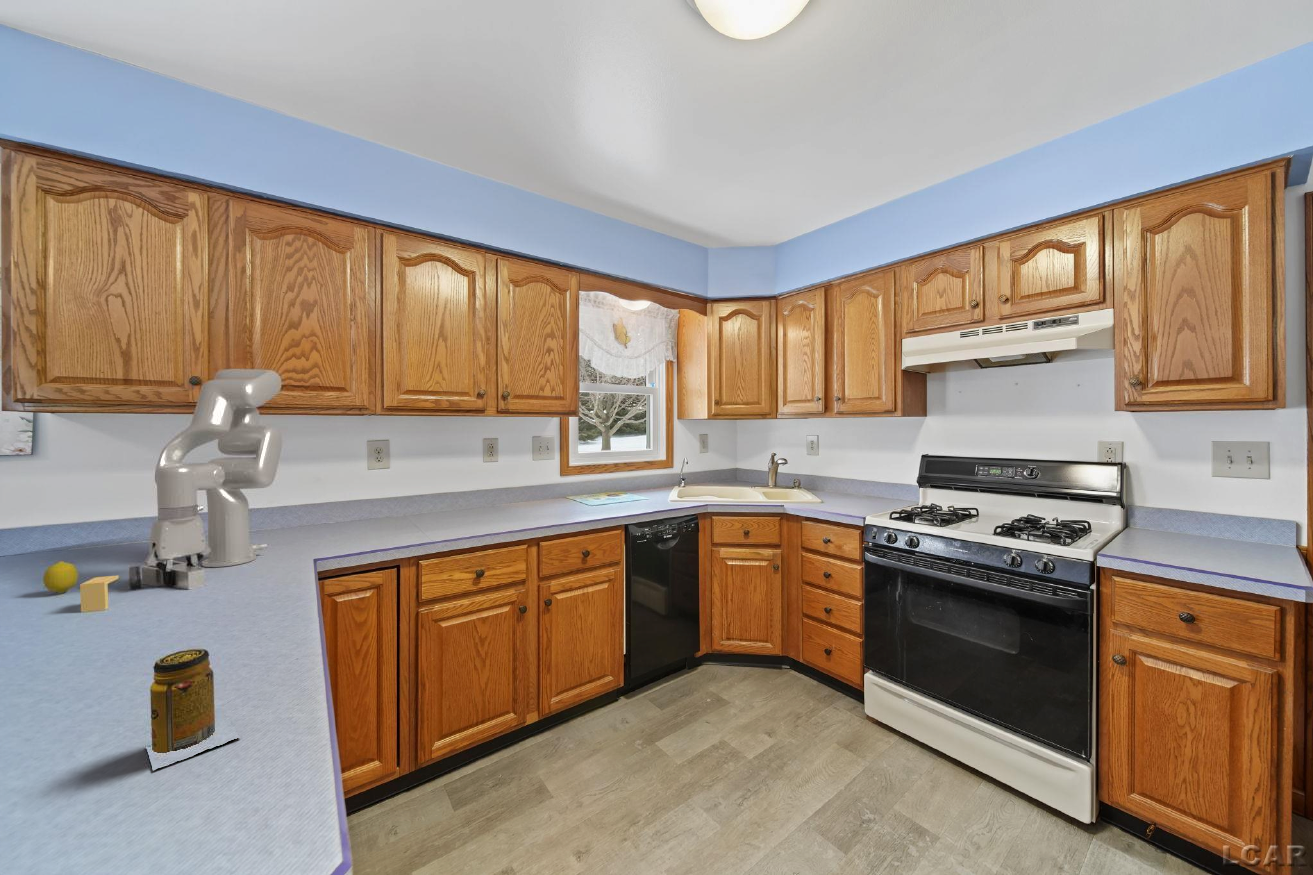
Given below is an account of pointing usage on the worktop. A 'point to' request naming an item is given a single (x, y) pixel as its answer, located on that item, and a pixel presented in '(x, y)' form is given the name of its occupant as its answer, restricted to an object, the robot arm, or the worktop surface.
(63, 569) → the lemon
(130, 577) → the cylinder
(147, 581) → the link
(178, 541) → the robot arm
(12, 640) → the worktop surface
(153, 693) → the condiment
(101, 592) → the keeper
